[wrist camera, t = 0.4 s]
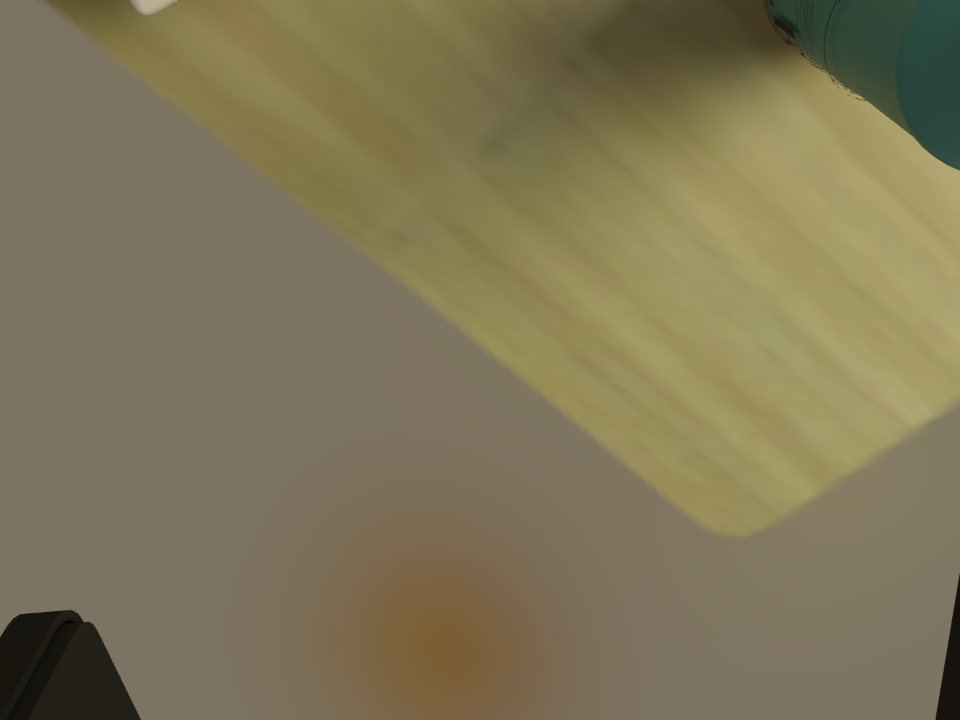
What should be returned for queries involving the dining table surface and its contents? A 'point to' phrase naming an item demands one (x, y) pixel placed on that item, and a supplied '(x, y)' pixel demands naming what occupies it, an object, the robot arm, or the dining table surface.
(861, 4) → the beverage bottle
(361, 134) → the dining table surface
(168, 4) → the container
